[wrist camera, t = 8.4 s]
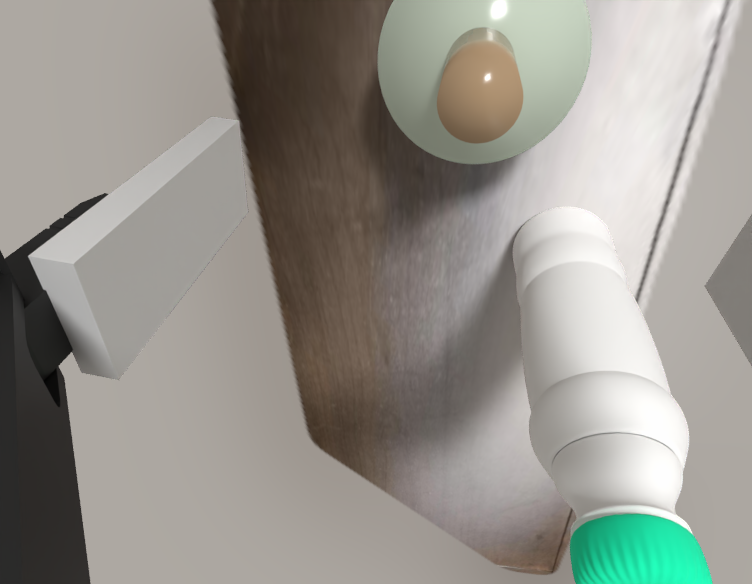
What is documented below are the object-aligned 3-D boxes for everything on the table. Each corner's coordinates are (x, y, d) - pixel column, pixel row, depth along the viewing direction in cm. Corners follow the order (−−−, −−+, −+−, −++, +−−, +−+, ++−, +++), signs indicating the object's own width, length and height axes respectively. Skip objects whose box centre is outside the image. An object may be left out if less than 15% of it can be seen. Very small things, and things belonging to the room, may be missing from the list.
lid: (390, -75, 23) (359, -72, 18) (622, -52, 22) (672, -41, 17) (373, 144, 30) (347, 199, 24) (551, 169, 29) (568, 232, 23)
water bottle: (503, 215, 36) (528, 556, 17) (604, 191, 34) (768, 558, 15) (521, 288, 40) (558, 635, 21) (613, 271, 38) (754, 647, 18)
